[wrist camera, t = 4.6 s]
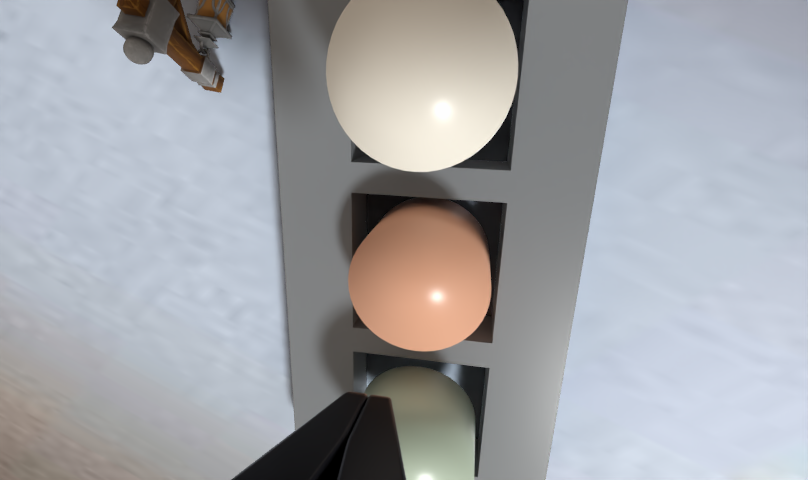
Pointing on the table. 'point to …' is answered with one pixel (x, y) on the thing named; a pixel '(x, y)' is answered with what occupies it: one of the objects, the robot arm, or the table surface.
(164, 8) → the wooden post with brackets
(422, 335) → the terracotta button
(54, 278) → the table surface
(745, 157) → the table surface
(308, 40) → the button panel
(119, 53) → the table surface
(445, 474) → the sage button
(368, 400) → the robot arm
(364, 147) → the cream button
